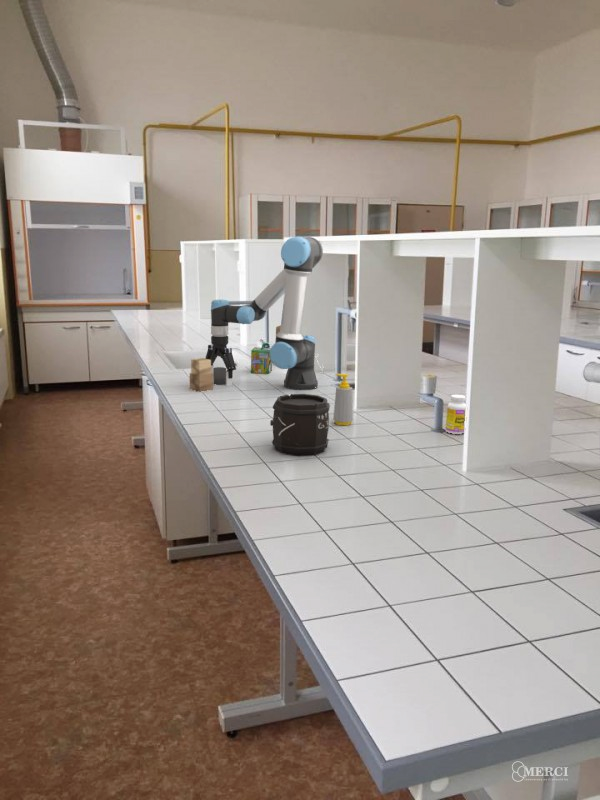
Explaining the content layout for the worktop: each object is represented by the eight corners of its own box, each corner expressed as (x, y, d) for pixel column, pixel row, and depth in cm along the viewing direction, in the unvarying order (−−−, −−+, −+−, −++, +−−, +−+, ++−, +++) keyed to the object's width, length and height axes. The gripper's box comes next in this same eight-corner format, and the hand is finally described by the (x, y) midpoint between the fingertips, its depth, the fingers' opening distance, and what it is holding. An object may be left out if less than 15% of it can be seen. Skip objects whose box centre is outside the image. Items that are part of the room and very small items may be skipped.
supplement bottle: (453, 435, 228) (455, 398, 225) (441, 430, 234) (444, 394, 231) (469, 434, 231) (472, 397, 228) (457, 429, 237) (460, 393, 234)
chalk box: (254, 370, 336) (254, 340, 333) (272, 371, 335) (272, 341, 332) (250, 373, 327) (250, 343, 324) (268, 374, 326) (269, 344, 323)
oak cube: (211, 373, 287) (211, 359, 286) (199, 375, 283) (199, 361, 282) (202, 371, 292) (202, 358, 290) (191, 373, 287) (191, 359, 286)
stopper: (228, 383, 302) (228, 368, 301) (218, 385, 298) (218, 369, 297) (220, 381, 306) (220, 366, 304) (211, 383, 302) (210, 368, 300)
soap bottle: (332, 420, 244) (334, 371, 240) (352, 421, 244) (354, 372, 240) (333, 425, 237) (334, 375, 233) (352, 426, 237) (355, 376, 233)
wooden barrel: (274, 438, 220) (275, 391, 216) (329, 441, 218) (331, 394, 214) (266, 455, 202) (267, 404, 199) (326, 458, 201) (328, 407, 197)
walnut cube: (212, 390, 289) (212, 373, 287) (199, 392, 284) (199, 375, 283) (203, 387, 294) (202, 371, 292) (189, 389, 289) (189, 373, 287)
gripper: (244, 337, 291) (244, 386, 296) (209, 331, 308) (209, 377, 313) (230, 339, 286) (230, 388, 291) (196, 332, 303) (196, 379, 308)
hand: (219, 383), depth 302 cm, fingers open, 12 cm apart
